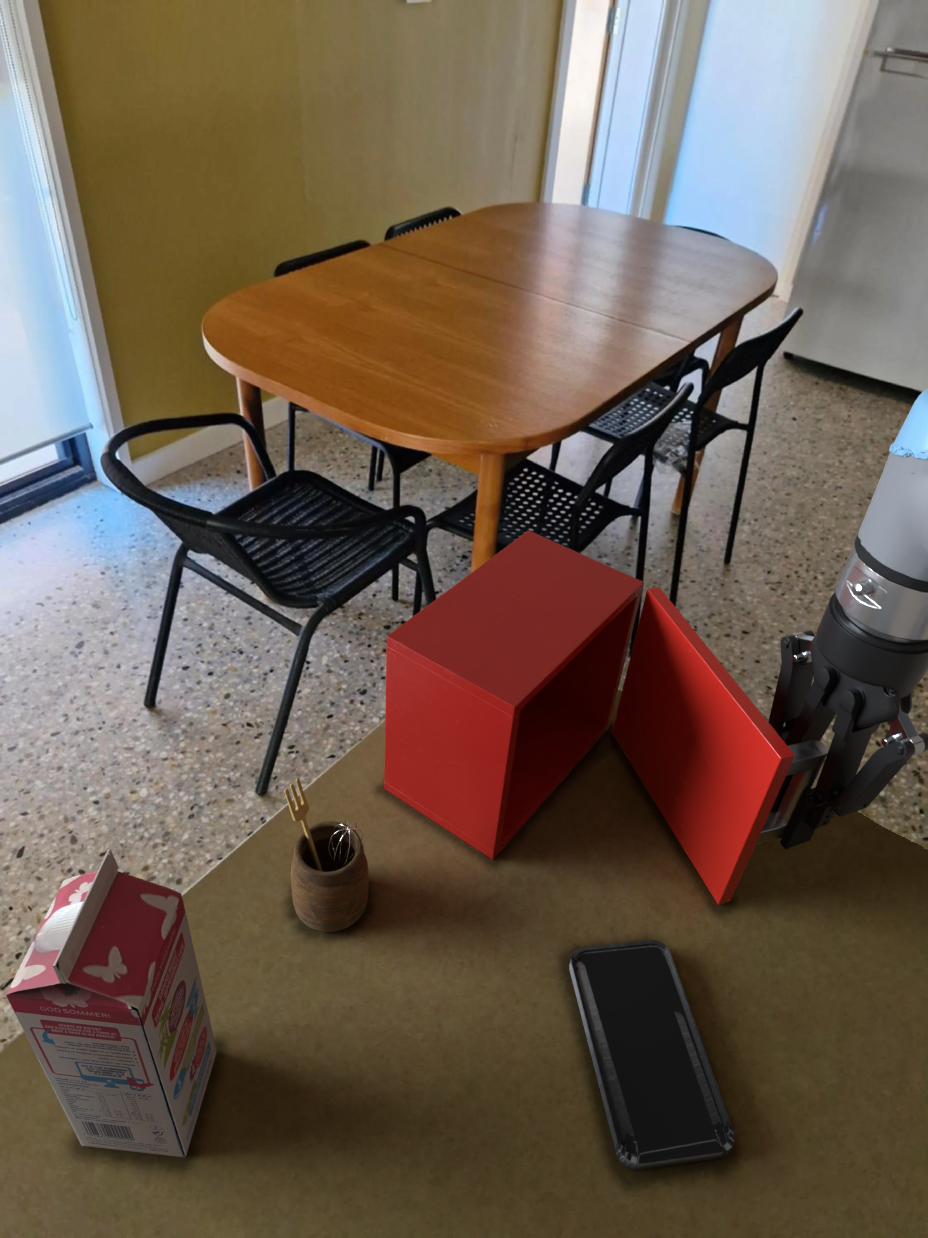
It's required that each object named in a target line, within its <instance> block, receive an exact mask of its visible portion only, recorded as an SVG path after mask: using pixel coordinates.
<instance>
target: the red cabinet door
mask: <svg viewBox="0 0 928 1238" xmlns="http://www.w3.org/2000/svg"><path fill="white" fill-rule="evenodd" d="M635 632H636V633H635V636H634V641H633V644H632V649H631V653H630V657H629V661H628V664H627V669H626V674H625V677H624V681H623V686H622V689H621V693H620V696H619V697H620V698H619V700H618V701H619V702H618V706H617V709H616V712H615V713H616V714H615V718H614V722H613V726H612V729H611V734H612V736H613V737H614V738H615V740H616V742H617V743H618V746H619V747H620V748H621V750H622V751H623V753H624V755H625V756H626V758H627V760H628V761H629V763H630V765H631V766H632V768H633V770H634V771H635V772H636V774H637V776H638V777H639V779H640V780H641V782H642V784H643V786H644V788H645V789H646V790H647V793H649V796H650V797H651V799H652V800H653V802H654V804H655V805H656V807H657V808H658V810H659V812H660V813H661V815H662V816H663V818H664V819H665V821H666V823H667V824H668V826H669V828H670V829H671V831H672V832H673V834H674V836H675V837H676V839H677V841H678V842H679V844H680V846H681V847H682V850H684V852H685V854H686V855H687V857H688V859H689V860H690V862H691V864H692V865H693V867H694V868H695V869H696V872H697V873H698V875H699V876H700V878H701V880H702V881H703V883H704V885H705V886H706V889H708V891H709V892H710V894H711V896H712V897H713V899H714V901H715V902H716V904H717V905H719V906H720V905H723V904H727V903H730V902H731V901H732V899H733V897H734V894H735V892H736V890H737V888H738V886H739V883H740V881H741V878H742V876H743V874H744V872H745V869H746V867H747V865H748V863H749V860H750V858H751V856H752V853H753V852H754V849H755V848H756V845H757V844H762V843H766V842H769V841H774V840H778V839H781V838H782V836H783V834H784V832H785V830H786V828H787V826H788V823H789V821H790V819H791V817H792V815H793V813H794V811H795V809H796V806H797V804H798V802H799V800H800V798H801V796H802V794H803V792H804V791H806V790H810V789H812V788H813V785H814V783H815V781H816V779H817V777H818V775H819V774H820V772H821V770H822V768H823V765H824V762H825V759H826V756H827V754H828V751H829V748H828V746H827V745H826V744H825V743H824V742H822V741H821V740H820V741H818V740H811V741H806V742H802V743H797V744H793V745H788V746H787V745H786V743H785V742H784V741H783V740H782V738H781V737H780V736H779V735H778V734H777V732H776V731H775V730H774V729H773V727H772V726H771V725H770V724H769V722H768V721H769V720H767V718H766V717H765V716H764V714H762V712H761V711H760V710H759V708H757V706H756V705H755V704H754V702H753V701H752V700H751V699H750V698H749V696H748V695H747V694H746V692H744V690H743V689H742V687H741V686H740V685H739V684H738V683H737V681H736V680H735V679H734V677H732V675H731V674H730V672H729V671H728V670H727V669H726V668H725V666H724V665H723V664H722V663H721V661H720V660H719V659H718V658H717V657H716V655H715V654H714V653H713V651H711V649H710V648H709V647H708V645H707V644H706V643H705V641H703V639H702V638H701V637H700V635H699V634H698V633H697V632H696V631H695V629H694V628H693V627H692V626H691V624H690V623H689V622H688V621H687V619H686V618H685V617H684V616H683V614H682V613H681V612H680V611H679V610H678V608H677V607H676V606H675V605H674V603H673V602H672V601H671V600H670V598H669V597H668V596H667V595H666V594H665V592H664V591H663V590H662V588H661V587H660V586H656V587H650V588H646V592H645V597H644V600H643V603H642V607H641V612H640V617H639V620H638V625H637V628H636V631H635ZM789 775H793V776H792V779H791V781H790V783H789V785H788V788H787V790H786V792H785V794H784V796H783V799H782V801H781V803H780V805H779V808H778V810H777V811H775V812H771V813H770V811H771V809H772V807H773V804H774V802H775V800H776V797H777V795H778V793H779V791H780V788H781V786H782V784H783V782H784V779H785V777H786V776H789Z"/></svg>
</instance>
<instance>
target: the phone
mask: <svg viewBox="0 0 928 1238" xmlns="http://www.w3.org/2000/svg"><path fill="white" fill-rule="evenodd" d="M568 967H569V974H570V977H571V982H572V986H573V989H574V994H575V997H576V1001H577V1006H578V1009H579V1014H580V1016H581V1021H582V1025H583V1029H584V1032H585V1036H586V1041H587V1045H588V1049H589V1053H590V1056H591V1061H592V1065H593V1068H594V1072H595V1076H596V1080H597V1084H598V1087H599V1090H600V1095H601V1100H602V1103H603V1107H604V1110H605V1115H606V1120H607V1123H608V1128H609V1131H610V1135H611V1139H612V1143H613V1146H614V1150H615V1154H616V1156H617V1160H619V1162H620V1163H621V1165H623V1166H624V1167H625V1168H627V1169H629V1170H630V1171H644V1170H650V1169H657V1168H659V1169H660V1168H665V1167H671V1166H680V1165H686V1164H693V1163H699V1162H706V1161H713V1160H719V1159H722V1158H725V1157H726V1156H727V1155H728V1154H729V1152H730V1150H731V1149H732V1147H733V1145H734V1143H735V1133H734V1128H733V1126H732V1123H731V1120H730V1117H729V1115H728V1112H727V1109H726V1106H725V1103H724V1101H723V1097H722V1094H721V1092H720V1089H719V1087H718V1083H717V1080H716V1078H715V1075H714V1072H713V1069H712V1067H711V1064H710V1060H709V1058H708V1055H707V1051H706V1049H705V1047H704V1044H703V1041H702V1038H701V1035H700V1031H699V1029H698V1027H697V1024H696V1021H695V1017H694V1015H693V1012H692V1009H691V1007H690V1004H689V1001H688V997H687V996H686V993H685V990H684V987H683V984H682V982H681V978H680V976H679V973H678V969H677V967H676V964H675V961H674V958H673V956H672V953H671V951H670V949H669V947H668V946H667V945H666V944H665V943H663V942H662V941H659V940H656V939H648V940H647V939H646V940H639V941H629V942H620V943H619V942H618V943H610V944H609V943H608V944H597V945H590V946H589V945H587V946H582V947H578V948H577V949H575V950H574V951H573V953H571V958H570V962H569V964H568Z"/></svg>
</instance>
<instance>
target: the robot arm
mask: <svg viewBox="0 0 928 1238" xmlns="http://www.w3.org/2000/svg"><path fill="white" fill-rule="evenodd" d="M888 450H889V451H888V452H889V454H888V456H887V459H886V462H885V465H884V467H883V470H882V474H881V475H880V477H879V481H878V483H877V486H876V488H875V490H874V492H873V495H872V498H871V500H870V503H869V505H868V508H867V510H866V513H865V515H864V518H863V520H862V523H861V525H860V528H859V529H858V530H859V531H858V532H857V534H856V536H855V538H854V542H853V544H852V546H851V549H850V551H849V554H848V556H847V558H846V561H845V562H844V565H843V568H842V570H841V573H840V575H839V578H838V580H837V582H836V585H835V590H834V593H833V594H832V595H831V597H830V598H829V599H828V603H827V605H826V607H825V609H824V613H823V615H822V617H821V620H820V622H819V625H818V628H817V630H816V633H814V632H813V631H812V630H810V629H807V630H804V631H800V632H796V633H793V634H788V635H785V636H782V637H781V638H780V657H781V658H780V662H781V665H780V669H779V674H778V677H777V678H778V679H777V681H776V686H775V691H774V695H773V700H772V704H771V709H770V713H769V717H768V720H767V721H768V722H769V724H770V725H771V726H772V727H773V729H774V730H775V731H776V732H777V734H778V735H779V736H780V737H781V738H782V740H783V741H784V742H785V743H786V745H787V746H788V745H793V744H797V743H802V742H806V741H811V740H818V741H821V740H822V739H823V737H824V735H825V733H826V732H827V730H828V729H829V727H830V725H831V724H832V722H833V724H832V726H831V731H832V733H834V735H833V737H832V740H831V742H830V746H829V748H828V754H827V756H826V758H825V760H824V762H823V765H822V767H821V769H820V772H819V777H818V779H817V782H816V784H815V787H812V788H811V789H810V790H806V791H804V792H803V794H802V796H801V798H800V800H799V802H798V804H797V806H796V809H795V811H794V813H793V815H792V817H791V819H790V821H789V823H788V826H787V828H786V830H785V832H784V834H783V836H782V837H781V838H780V840H779V844H780V846H781V847H782V848H783V849H784V851H786V850H789V849H791V848H794V847H798V846H799V845H802V844H804V843H807V842H811V840H812V838H813V837H814V834H815V832H816V830H818V829H820V828H824V827H825V826H827V825H830V823H831V822H832V819H833V818H834V816H837V817H839V818H843V817H846V816H849V815H851V814H854V813H856V812H859V811H862V810H864V809H867V808H868V807H869V806H870V805H871V804H872V803H873V802H874V800H875V799H877V797H878V796H879V795H880V794H881V792H882V791H883V790H884V789H885V788H886V787H887V785H889V783H890V782H891V781H892V780H893V779H894V777H895V776H896V775H897V774H898V773H899V772H900V771H901V769H903V767H904V766H905V765H906V764H907V762H908V761H909V760H910V759H911V758H912V757H913V756H915V755H918V754H920V753H923V752H926V751H928V733H927V732H920V733H918V731H917V728H916V727H915V725H914V723H913V721H912V719H911V717H910V715H909V714H910V712H911V711H912V708H913V693H914V690H915V688H916V687H917V686H918V685H919V683H920V682H921V681H922V679H923V678H924V676H925V675H926V674H927V671H928V388H926V389H925V390H923V391H922V392H921V393H920V394H919V395H918V396H917V398H916V399H915V400H914V402H913V404H912V406H911V408H910V410H909V412H908V414H907V416H906V418H905V420H904V422H903V424H902V425H901V427H900V430H899V432H898V434H897V436H896V438H895V439H894V441H893V442H892V443H891V444H890V446H889V449H888ZM885 723H888V724H889V730H888V732H886V733H885V734H884V735H885V736H884V738H881V741H880V743H881V745H882V746H881V747H880V748H878V749H877V750H875V752H873V753H872V754H871V756H870V757H869V758H868V759H867V761H865V763H864V764H863V766H861V764H862V761H863V758H864V755H865V753H866V751H867V748H868V745H869V742H870V740H871V737H872V736H873V734H875V732H877V731H878V730H879V728H880V726H881V724H885ZM860 766H861V767H860ZM792 776H793V775H789V776H786V777H785V779H784V782H783V784H782V786H781V788H780V791H779V793H778V795H777V797H776V800H775V802H774V804H773V807H772V809H771V811H770V813H771V812H775V811H777V810H778V808H779V805H780V803H781V801H782V799H783V796H784V794H785V792H786V790H787V788H788V785H789V783H790V781H791V779H792Z"/></svg>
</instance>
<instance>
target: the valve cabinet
mask: <svg viewBox="0 0 928 1238" xmlns="http://www.w3.org/2000/svg"><path fill="white" fill-rule="evenodd" d="M644 585H645V582H644V581H643V580H640V579H638V578H636V577H633V576H631V575H629V574H627V573H625V572H622V571H621V570H618V569H616V568H613V567H611V566H609V565H607V564H604V563H602V562H601V561H598V560H595V559H594V558H591V557H590V556H587V555H584V554H582V553H580V552H578V551H575V550H574V549H571V548H569V547H566V546H564V545H563V544H560V543H558V542H555V541H553V540H551V539H549V538H546V537H544V536H542V535H541V534H538V533H535V532H534V531H531V530H529V529H528V530H526V532H524V533H522V534H521V535H520V536H519V537H517V538H516V539H514V540H513V541H512V542H510V543H509V544H507V546H505V547H504V548H503V549H501V550H500V551H499V552H497V553H495V554H494V555H493V556H492V557H490V558H489V559H488V560H487V561H485V562H484V563H482V564H481V565H480V566H479V567H477V568H476V569H475V570H473V571H472V572H471V573H469V574H468V575H466V576H465V577H464V578H462V579H461V580H460V581H458V582H457V583H455V584H454V585H453V586H452V587H450V588H449V589H448V590H446V591H445V592H444V593H442V594H441V595H440V596H439V597H438V596H437V598H435V600H433V601H432V602H430V603H429V604H427V605H426V606H425V607H424V608H422V609H421V610H420V611H418V612H417V613H416V614H414V615H413V616H411V618H409V619H408V620H406V621H405V622H404V623H402V624H400V626H398V627H397V628H396V629H394V630H392V631H391V632H390V633H389V634H388V635H387V636H386V651H385V652H386V655H385V656H386V658H385V659H386V660H385V663H386V664H385V671H386V672H385V718H384V719H385V720H384V722H385V723H384V773H383V774H384V775H383V776H384V778H383V779H384V780H383V781H384V784H383V787H384V790H385V791H387V792H388V793H390V794H392V795H393V796H394V797H396V798H398V799H399V800H401V801H402V802H403V803H405V804H407V805H408V806H410V807H411V808H413V809H414V810H416V811H417V812H419V813H421V814H422V815H423V816H425V817H426V818H428V819H429V820H431V821H433V822H434V823H436V824H437V825H439V826H440V827H442V828H443V829H445V830H446V831H448V832H450V833H451V834H453V835H454V836H455V837H457V838H459V839H460V840H462V841H463V842H464V843H466V844H468V845H469V846H471V847H473V848H474V849H476V850H477V851H479V852H480V853H482V854H483V855H484V856H486V857H488V858H489V859H491V860H494V859H495V858H496V857H497V856H498V855H499V853H500V852H502V850H503V849H504V848H505V847H506V846H507V845H508V843H510V841H511V840H512V839H513V838H514V836H515V835H516V834H517V833H518V832H519V831H520V830H521V829H522V828H523V826H524V825H525V824H526V823H527V822H528V821H529V819H530V818H531V817H532V816H533V815H534V814H535V813H536V812H537V810H538V809H539V808H540V807H541V806H542V805H543V804H544V803H545V802H546V800H547V799H548V798H549V797H550V796H551V795H552V793H553V792H555V790H556V789H557V787H559V785H561V783H562V782H563V781H564V780H565V779H566V778H567V777H568V775H569V774H570V773H571V772H572V771H573V769H575V767H576V766H577V765H578V764H579V763H580V762H581V761H582V759H583V758H584V757H585V756H586V755H587V754H588V752H589V751H590V750H591V749H592V748H593V747H594V746H595V745H596V744H597V742H598V741H599V740H600V739H601V738H602V737H603V735H604V734H605V733H606V732H607V731H608V730H609V728H610V725H611V720H612V717H613V713H614V710H615V709H614V708H615V704H616V700H617V696H618V691H619V687H620V684H621V679H622V676H623V672H624V668H625V663H626V659H627V655H628V650H629V647H630V642H631V638H632V635H633V631H634V630H633V629H634V626H635V622H636V617H637V613H638V609H639V607H640V601H641V597H642V592H643V589H644Z"/></svg>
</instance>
